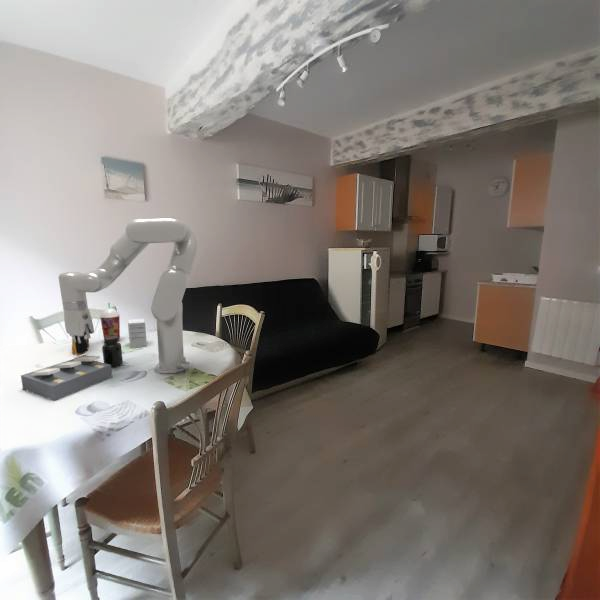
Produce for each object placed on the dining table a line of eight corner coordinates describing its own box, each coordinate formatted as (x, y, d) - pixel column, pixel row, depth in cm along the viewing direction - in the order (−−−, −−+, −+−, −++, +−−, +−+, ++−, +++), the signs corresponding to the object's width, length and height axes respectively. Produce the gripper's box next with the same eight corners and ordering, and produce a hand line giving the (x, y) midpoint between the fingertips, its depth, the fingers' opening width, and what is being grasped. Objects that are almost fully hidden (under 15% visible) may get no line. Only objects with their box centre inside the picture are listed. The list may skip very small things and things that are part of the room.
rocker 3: (100, 358, 121) (99, 355, 121) (90, 361, 118) (90, 358, 118) (83, 358, 125) (83, 355, 125) (74, 361, 122) (73, 358, 122)
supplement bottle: (117, 361, 138) (114, 334, 135) (126, 364, 134) (124, 337, 132) (100, 366, 132) (97, 338, 130) (109, 370, 129) (107, 341, 126)
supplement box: (129, 344, 159) (127, 319, 157) (146, 342, 163) (144, 318, 160) (129, 348, 153) (127, 323, 150) (147, 346, 156) (145, 321, 154)
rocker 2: (81, 363, 115) (80, 360, 115) (70, 367, 112) (69, 364, 111) (65, 364, 119) (64, 361, 119) (54, 368, 116) (53, 365, 116)
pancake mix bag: (94, 342, 160) (88, 287, 154) (88, 355, 143) (81, 293, 138) (78, 344, 157) (72, 287, 152) (69, 357, 140) (62, 294, 135)
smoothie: (119, 338, 168) (116, 300, 164) (123, 342, 162) (120, 303, 158) (101, 340, 163) (97, 302, 159) (104, 345, 156) (100, 305, 153)
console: (112, 377, 122) (110, 363, 121) (54, 400, 104) (52, 384, 103) (81, 368, 129) (80, 355, 128) (22, 389, 111) (20, 373, 110)
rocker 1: (60, 370, 108) (59, 367, 108) (48, 374, 105) (47, 371, 105) (43, 371, 113) (42, 368, 113) (32, 375, 109) (31, 372, 109)
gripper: (98, 305, 120) (104, 351, 123) (73, 302, 126) (79, 346, 129) (77, 309, 113) (85, 358, 117) (52, 305, 119) (59, 352, 123)
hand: (82, 352), depth 123 cm, fingers closed
